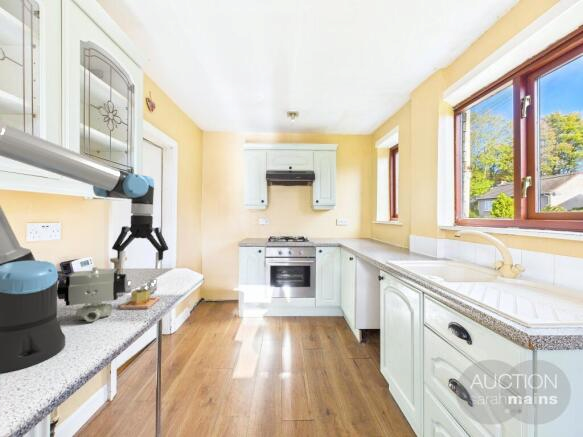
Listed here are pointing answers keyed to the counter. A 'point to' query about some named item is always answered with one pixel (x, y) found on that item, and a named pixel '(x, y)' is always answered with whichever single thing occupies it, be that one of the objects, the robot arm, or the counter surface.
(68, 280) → the ball valve
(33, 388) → the counter surface
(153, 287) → the spacers
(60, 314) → the counter surface
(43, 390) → the counter surface
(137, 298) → the nut
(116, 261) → the handle
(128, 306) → the dish
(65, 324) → the counter surface
